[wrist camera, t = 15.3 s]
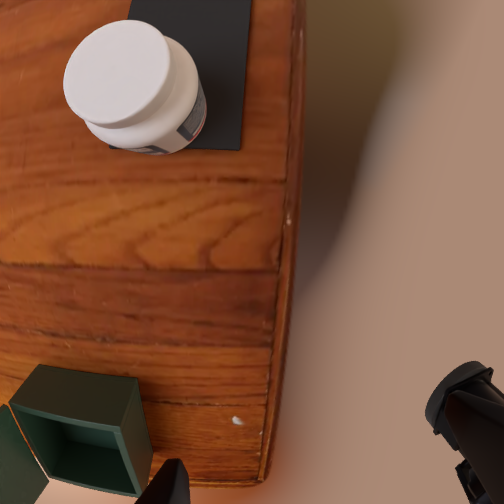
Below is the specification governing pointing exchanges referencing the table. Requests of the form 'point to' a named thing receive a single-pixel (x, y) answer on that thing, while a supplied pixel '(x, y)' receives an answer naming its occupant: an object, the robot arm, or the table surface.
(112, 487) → the green square box
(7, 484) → the lid
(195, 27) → the mat
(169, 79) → the pill bottle
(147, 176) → the table surface
